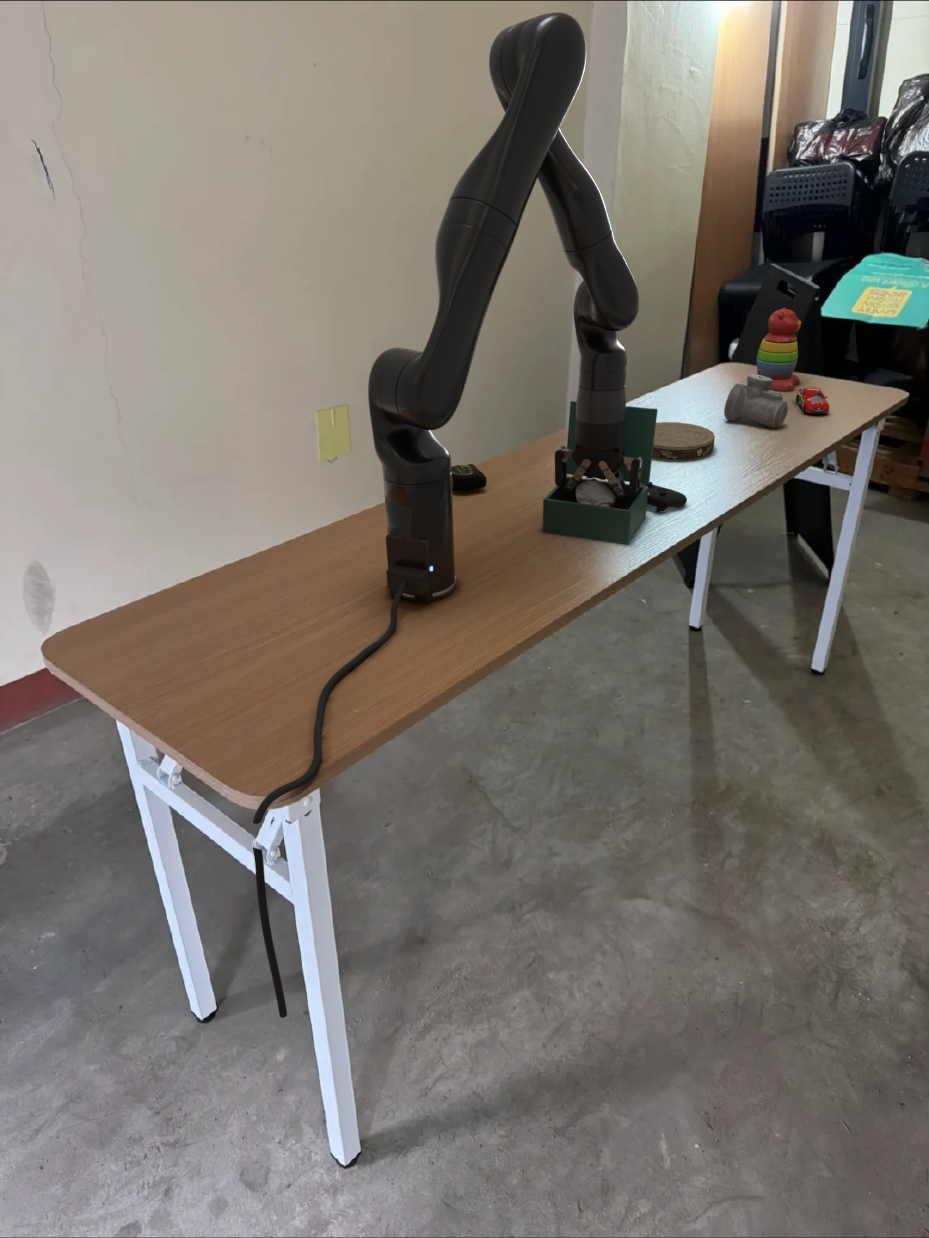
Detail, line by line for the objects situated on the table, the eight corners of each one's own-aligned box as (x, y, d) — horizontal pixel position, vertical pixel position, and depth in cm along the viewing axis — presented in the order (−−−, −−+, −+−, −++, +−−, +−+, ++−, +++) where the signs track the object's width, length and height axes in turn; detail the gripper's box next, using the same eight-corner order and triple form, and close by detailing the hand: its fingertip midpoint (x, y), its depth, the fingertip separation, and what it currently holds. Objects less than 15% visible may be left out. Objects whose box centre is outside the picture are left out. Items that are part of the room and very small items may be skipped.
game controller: (690, 499, 148) (680, 482, 143) (676, 526, 147) (665, 511, 142) (642, 486, 154) (630, 470, 149) (629, 512, 153) (616, 497, 148)
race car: (830, 417, 189) (833, 399, 187) (804, 416, 190) (807, 398, 188) (818, 400, 200) (821, 383, 198) (793, 399, 201) (796, 382, 199)
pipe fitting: (718, 420, 187) (730, 373, 182) (734, 415, 192) (747, 369, 187) (769, 437, 181) (784, 389, 175) (785, 431, 186) (800, 384, 181)
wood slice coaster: (701, 434, 181) (702, 420, 179) (722, 460, 167) (724, 445, 165) (625, 437, 180) (626, 423, 179) (640, 463, 167) (642, 448, 165)
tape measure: (488, 492, 156) (487, 473, 154) (451, 498, 154) (451, 478, 152) (476, 480, 161) (475, 461, 159) (440, 485, 160) (440, 465, 158)
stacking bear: (790, 392, 207) (803, 314, 198) (748, 387, 211) (758, 311, 202) (800, 381, 215) (813, 306, 206) (759, 377, 219) (769, 304, 210)
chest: (628, 544, 135) (630, 511, 132) (542, 531, 140) (543, 499, 137) (645, 518, 144) (648, 486, 141) (564, 506, 149) (565, 476, 146)
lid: (656, 409, 136) (657, 408, 136) (570, 401, 141) (571, 400, 142) (648, 484, 140) (649, 483, 141) (564, 473, 146) (566, 473, 146)
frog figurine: (585, 511, 146) (586, 471, 142) (622, 519, 142) (625, 479, 138) (567, 523, 141) (568, 482, 138) (605, 532, 138) (607, 491, 134)
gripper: (548, 417, 133) (546, 516, 141) (640, 426, 127) (632, 529, 136) (563, 403, 138) (560, 500, 147) (652, 412, 133) (644, 511, 141)
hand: (595, 513), depth 141 cm, fingers open, 7 cm apart
